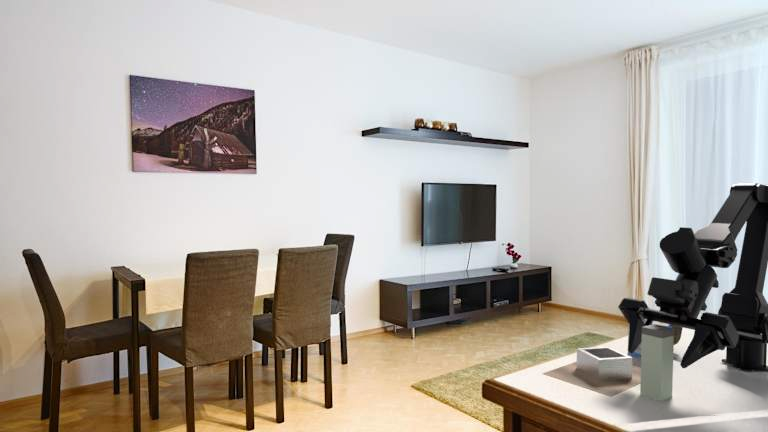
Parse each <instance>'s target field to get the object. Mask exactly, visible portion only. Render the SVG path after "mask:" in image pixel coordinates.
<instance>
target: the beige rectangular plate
mask: <svg viewBox="0 0 768 432" xmlns="http://www.w3.org/2000/svg"><path fill="white" fill-rule="evenodd" d="M542 375H545V376H548V377H550V378H551V377H552V378H554V379H558V380H560V381H564V382H565V383H569V384H572V385H574V386H577V387H581V388H584V389H587V390H590V391H593V392H595V393H599V394H602V395H605V396H608V397H611V398H612V397H613V396H616V395H618V394H620V393H622V392H625V391H627V390H630V389H631V388H633V387H636V386H637V385H641V365H639V364H633V363H632V378H628V379H616V380H604V381H598V380H596V379H595V378H593V377H591V376H589V375H588V374H586V373H584V372H583V371H581V370H579V369H577V361H574V362H572V363H569V364H566V365H563V366H560V367H557V368H554V369H551V370H548V371H545V372H543V373H542Z"/></svg>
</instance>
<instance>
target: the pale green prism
mask: <svg viewBox="0 0 768 432" xmlns="http://www.w3.org/2000/svg"><path fill="white" fill-rule="evenodd" d="M674 346H675V345H674V329H673V328H669V327H664V326H660V325H655V324H652V325H648V326H643V327H642V344H641V357H640V366H641V383H640V384H639V386H640V387H639V390H640V392H639V393H640V395H641V396H644V397H647V398H650V399H653V400H655V401H658V402H663V401H666V400H668V399H671V398H673V380H674V379H673V378H674V377H673V376H674V374H673V373H674V349H673V348H675V347H674Z"/></svg>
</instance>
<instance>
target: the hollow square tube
mask: <svg viewBox="0 0 768 432" xmlns="http://www.w3.org/2000/svg"><path fill="white" fill-rule="evenodd" d="M576 362H577V369H579V370H581V371H583V372H584V373H586V374H588V375H589V376H591V377H593V378H595V379H596V380H598V381H604V380H616V379H628V378H632V364H633V357H632V356H631V355H628V354H626V353H624V352H621V351H619V350H617V349H616V348H615V349H614V348H612V347H611V346H596V347H595V346H594V347H581V348H579V347H578V348H576Z"/></svg>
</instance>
